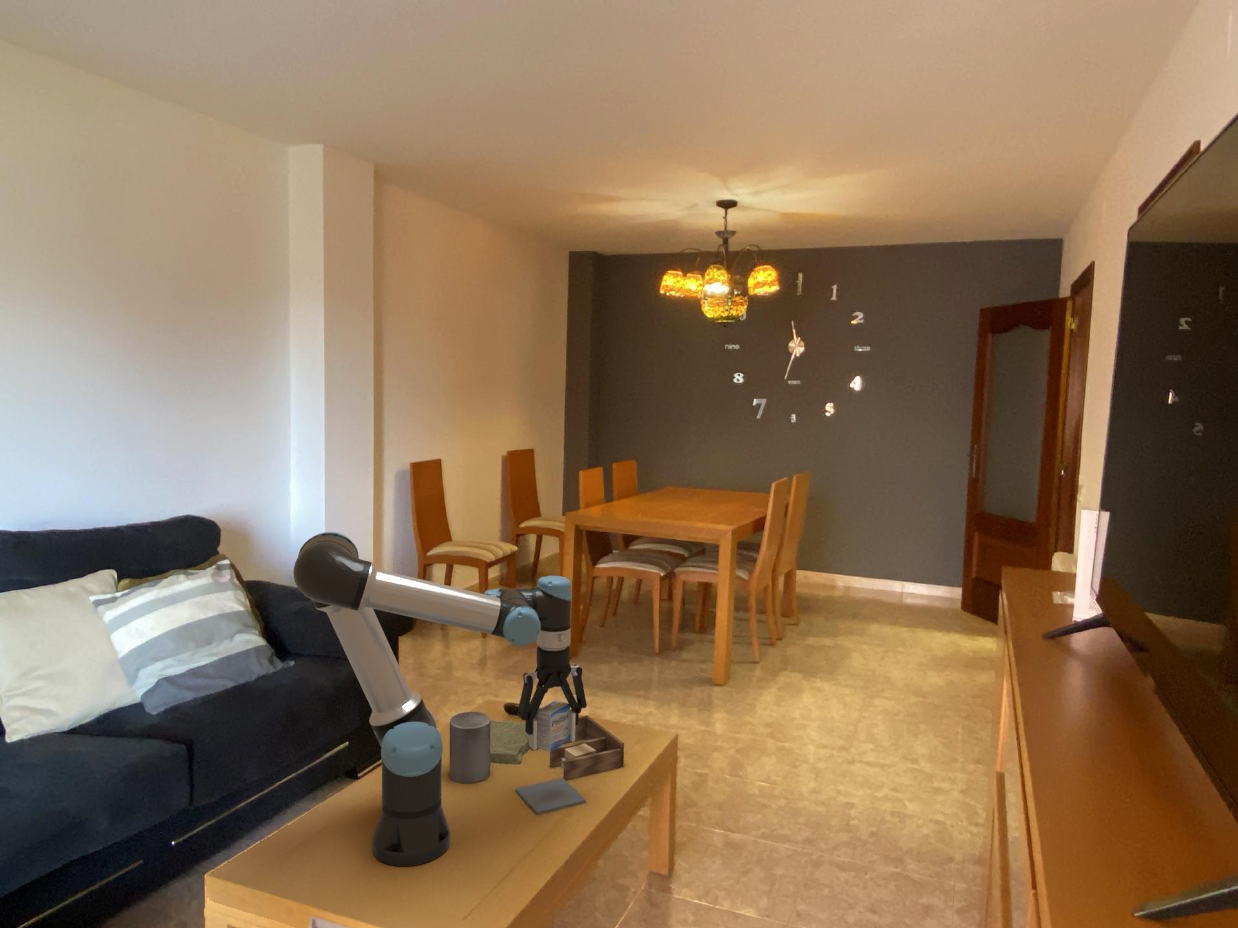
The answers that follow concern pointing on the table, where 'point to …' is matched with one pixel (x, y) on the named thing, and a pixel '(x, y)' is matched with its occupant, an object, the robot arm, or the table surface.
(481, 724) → the pillar candle
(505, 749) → the green stone slab
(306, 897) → the table surface
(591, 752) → the offcut short
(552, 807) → the mat
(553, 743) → the medicine box
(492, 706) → the table surface
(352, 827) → the table surface
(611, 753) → the rack
